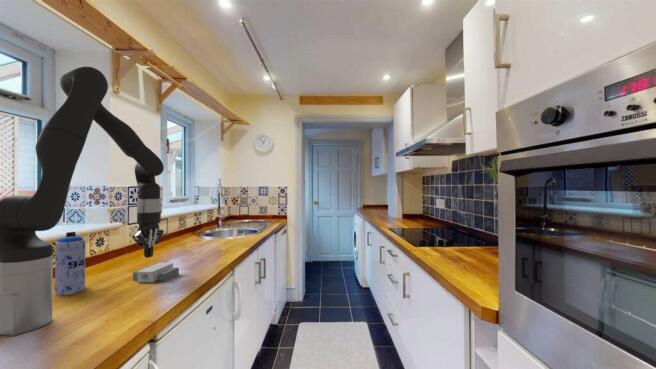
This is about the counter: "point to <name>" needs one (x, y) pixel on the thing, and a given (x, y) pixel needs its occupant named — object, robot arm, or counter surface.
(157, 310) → the counter surface
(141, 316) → the counter surface
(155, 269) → the skincare box
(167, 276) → the charcoal cradle
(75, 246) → the aerosol can
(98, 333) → the counter surface
